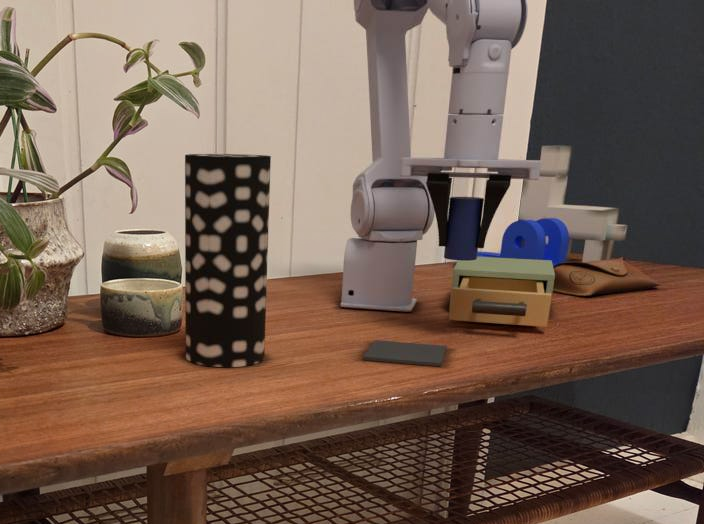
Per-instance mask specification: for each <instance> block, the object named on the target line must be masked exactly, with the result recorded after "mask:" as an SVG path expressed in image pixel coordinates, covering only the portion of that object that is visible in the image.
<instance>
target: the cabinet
mask: <svg viewBox="0 0 704 524" xmlns="http://www.w3.org/2000/svg"><path fill="white" fill-rule="evenodd" d="M464 276H477V277H494V278H511V279H528V280H543V287H544V293H551V300H552V298H553V297H552V296H553V292H554V291H553V285H554V279H555V273H554V269H553V264H552V261H551V260H532V259H513V258H494V257H477V259H476V260H469V261H462V260H458V261H457V260H456V263H455V266H454V268H453V271H452V280H451V290H450V298H449V306H450V305H451V296H452V289H453V287H456V288H459V287H460V285H461V282H462V280H463V277H464ZM551 304H552V301H551V302H550V306H551ZM448 311H449V312H450V307H449V308H448ZM550 311H551V308H550V309H549V313H550ZM549 317H550V314H549V315H548V319H549Z"/></svg>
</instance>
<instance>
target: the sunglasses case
mask: <svg viewBox="0 0 704 524" xmlns="http://www.w3.org/2000/svg"><path fill="white" fill-rule="evenodd" d="M553 269H554V273H555V279H554V285H553V292H555V293H559V294H563V295H568V296H579V297H586V296H587V297H590V296H595V295H603V294H604V295H605V294H617V293H627V292H628V293H629V292H638V291H645V290H648V289H652V288H656V287H659V286H662V284H660V283H659V282H658V281H656V280H655V279H654V278H652V277H650V276H648V275H647V274H645V272H643V271H642V270H640V269H638V268H636V267H635V266H633V265H632V264H631V263H629V262H627V261H626V258H625V257H623V256H622V257H620V258H615V259H611V260H600V261H588V262H582V261H569V262H564V263H559V264H557V265H555V266H553Z"/></svg>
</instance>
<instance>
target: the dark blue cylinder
mask: <svg viewBox="0 0 704 524" xmlns="http://www.w3.org/2000/svg"><path fill="white" fill-rule="evenodd" d="M484 199H485V197H484V198H483V197H477V196H450V200H449V208H448V222H447V232H446V244H445V247H444V254H443V258H444V259H446V260H451V261H457V260H462V261H469V260H476V259H477V252H479V248H477V245H478V237H479V232H480V227H481V222H482V217H483V208H484Z"/></svg>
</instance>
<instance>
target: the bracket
mask: <svg viewBox="0 0 704 524" xmlns="http://www.w3.org/2000/svg"><path fill="white" fill-rule="evenodd" d="M546 236H548V243H547V244H546ZM523 240H524V244H523ZM568 243H569V233H568V229H567V227H566V225H565V224H564V223H563V222H562V221H561V220H559V219H556V218H545V219H539V220H537V221H534V220H519V219H518V220H515V221H513V222H511V223H510V224H509V225H508V226H507V227H506V228H505V230H504V232H503V234H502V239H501V245H500V252H491V251H478V252H477V257H494V258H513V259H532V260H551V261H552V264H553V266H555V265H557V264H559V263H564V262H566V256H567V249H568ZM457 261H458V260H456V262H457Z"/></svg>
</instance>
